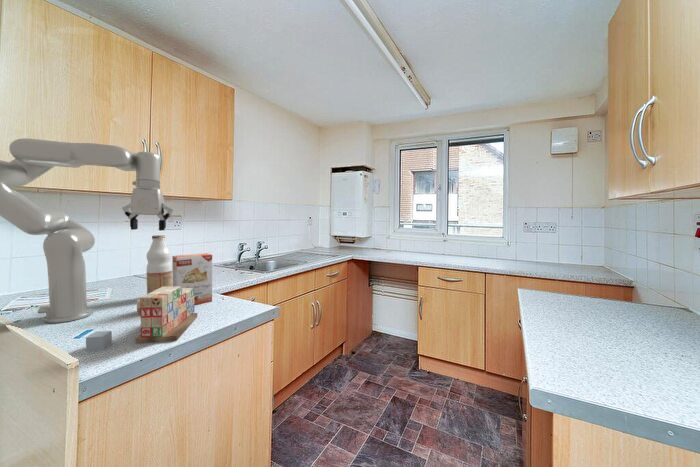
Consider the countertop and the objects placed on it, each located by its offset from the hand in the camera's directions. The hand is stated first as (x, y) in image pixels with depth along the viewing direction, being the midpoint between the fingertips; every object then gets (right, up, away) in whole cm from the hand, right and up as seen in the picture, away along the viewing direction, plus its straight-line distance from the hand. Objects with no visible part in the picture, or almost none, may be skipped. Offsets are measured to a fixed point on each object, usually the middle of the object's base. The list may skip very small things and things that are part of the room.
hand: (148, 229), depth 109 cm
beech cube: (0, -32, -1) cm, 32 cm away
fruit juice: (-7, -31, +18) cm, 36 cm away
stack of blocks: (+18, -32, -15) cm, 39 cm away
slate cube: (+7, -34, -29) cm, 45 cm away
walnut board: (+18, -33, -15) cm, 41 cm away
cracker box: (+11, -31, +11) cm, 35 cm away
